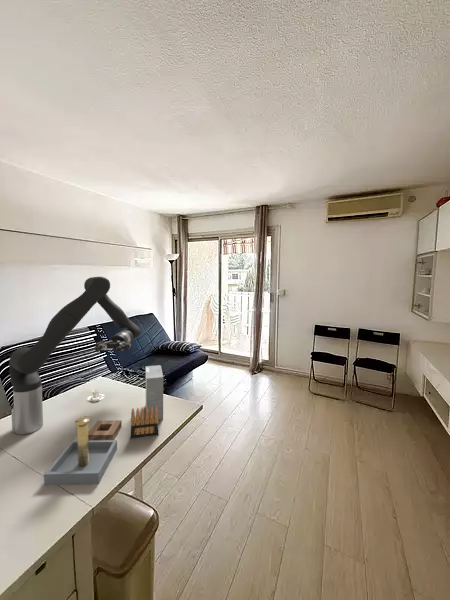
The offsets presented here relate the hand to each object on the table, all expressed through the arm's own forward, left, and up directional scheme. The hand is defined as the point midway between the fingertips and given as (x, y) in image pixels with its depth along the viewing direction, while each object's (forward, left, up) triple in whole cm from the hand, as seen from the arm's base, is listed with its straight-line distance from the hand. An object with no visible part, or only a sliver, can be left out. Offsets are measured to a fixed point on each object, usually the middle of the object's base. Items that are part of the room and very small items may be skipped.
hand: (107, 350), depth 109 cm
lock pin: (+2, -27, -31) cm, 41 cm away
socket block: (+2, -9, -32) cm, 33 cm away
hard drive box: (+18, +8, -32) cm, 38 cm away
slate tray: (+2, -26, -32) cm, 41 cm away
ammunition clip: (+18, -10, -32) cm, 38 cm away
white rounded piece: (-17, +20, -33) cm, 42 cm away
